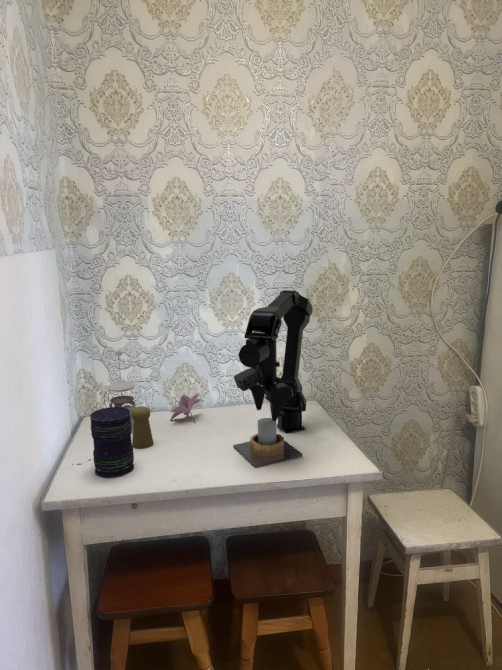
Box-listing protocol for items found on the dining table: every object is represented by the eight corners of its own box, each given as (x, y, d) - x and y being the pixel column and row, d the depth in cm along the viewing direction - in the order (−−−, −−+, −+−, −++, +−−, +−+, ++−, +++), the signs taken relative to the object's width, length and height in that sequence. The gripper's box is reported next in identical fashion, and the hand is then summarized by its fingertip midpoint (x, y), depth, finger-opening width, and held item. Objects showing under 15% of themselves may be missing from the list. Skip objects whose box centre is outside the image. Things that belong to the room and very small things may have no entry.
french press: (124, 437, 148) (118, 355, 143) (96, 431, 154) (89, 351, 149) (147, 426, 157) (142, 348, 152) (119, 420, 162) (113, 344, 158)
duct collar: (277, 438, 146) (277, 425, 145) (302, 456, 133) (302, 443, 132) (233, 447, 140) (232, 434, 139) (254, 468, 127) (254, 453, 127)
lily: (208, 416, 167) (196, 390, 168) (213, 414, 156) (200, 386, 157) (175, 433, 164) (162, 406, 165) (178, 432, 152) (165, 403, 153)
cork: (143, 438, 147) (141, 402, 145) (158, 443, 144) (155, 406, 142) (127, 445, 143) (124, 408, 140) (142, 450, 139) (139, 412, 137)
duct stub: (255, 447, 138) (254, 419, 136) (271, 443, 140) (271, 416, 138) (263, 454, 133) (262, 426, 131) (279, 450, 135) (279, 422, 134)
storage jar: (141, 462, 132) (137, 408, 129) (123, 479, 123) (119, 421, 120) (106, 459, 134) (102, 405, 131) (86, 476, 125) (81, 419, 122)
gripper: (223, 354, 136) (225, 409, 139) (252, 370, 120) (254, 432, 123) (260, 350, 141) (261, 403, 144) (293, 364, 124) (293, 424, 127)
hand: (266, 415), depth 134 cm, fingers open, 9 cm apart
